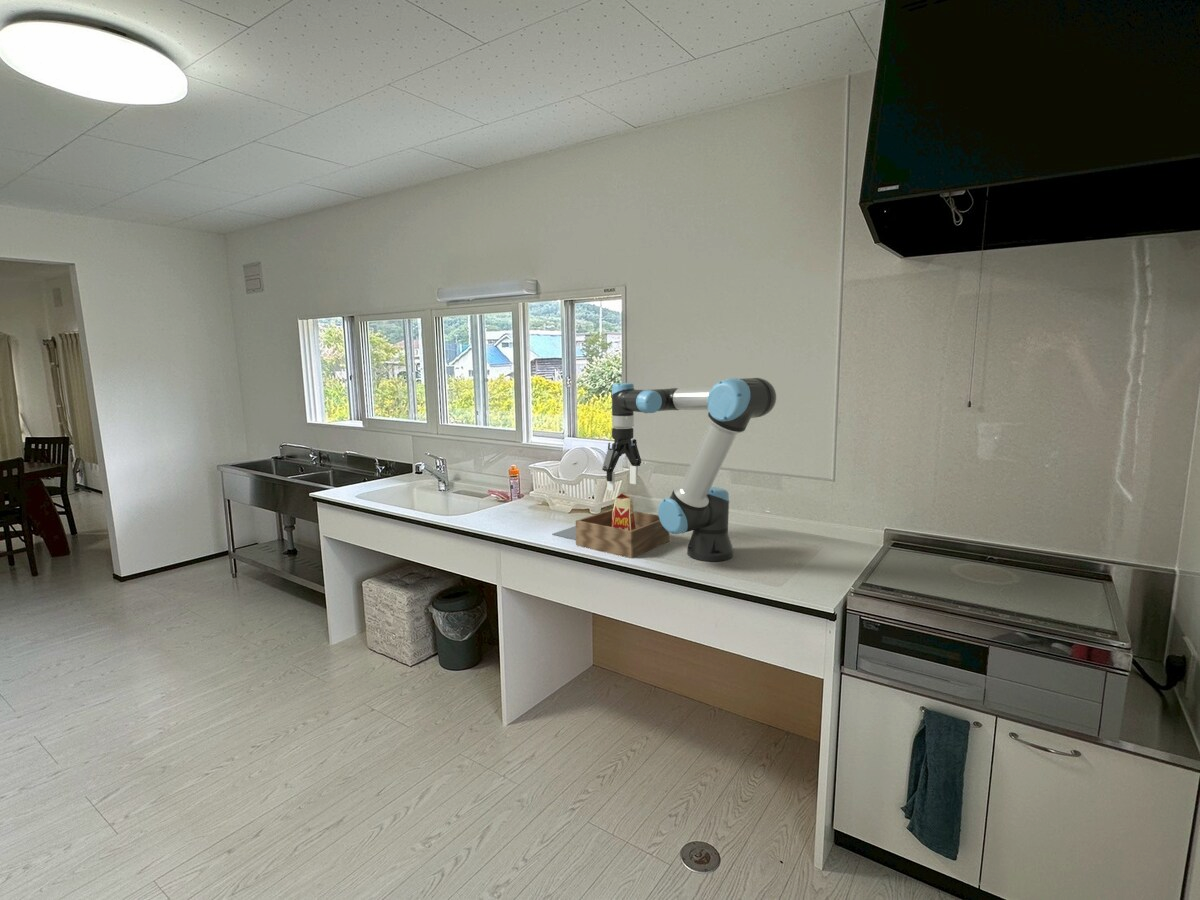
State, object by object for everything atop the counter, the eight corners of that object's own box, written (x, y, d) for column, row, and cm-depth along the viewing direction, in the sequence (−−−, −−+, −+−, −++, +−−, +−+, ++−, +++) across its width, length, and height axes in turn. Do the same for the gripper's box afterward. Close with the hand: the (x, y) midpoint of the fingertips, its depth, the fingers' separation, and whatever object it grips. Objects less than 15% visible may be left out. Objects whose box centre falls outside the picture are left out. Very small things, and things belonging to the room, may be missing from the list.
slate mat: (604, 532, 233) (604, 531, 233) (580, 541, 223) (580, 540, 223) (576, 526, 242) (576, 525, 242) (552, 534, 231) (552, 533, 231)
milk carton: (633, 547, 214) (634, 492, 211) (608, 546, 216) (607, 491, 213) (637, 540, 223) (637, 486, 220) (612, 539, 225) (612, 485, 222)
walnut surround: (669, 541, 222) (669, 517, 220) (631, 558, 203) (631, 531, 202) (616, 530, 236) (616, 507, 235) (575, 545, 217) (575, 520, 216)
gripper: (634, 423, 226) (633, 480, 229) (591, 429, 206) (592, 491, 209) (651, 424, 221) (650, 482, 224) (609, 431, 202) (609, 494, 205)
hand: (622, 487), depth 217 cm, fingers open, 13 cm apart
